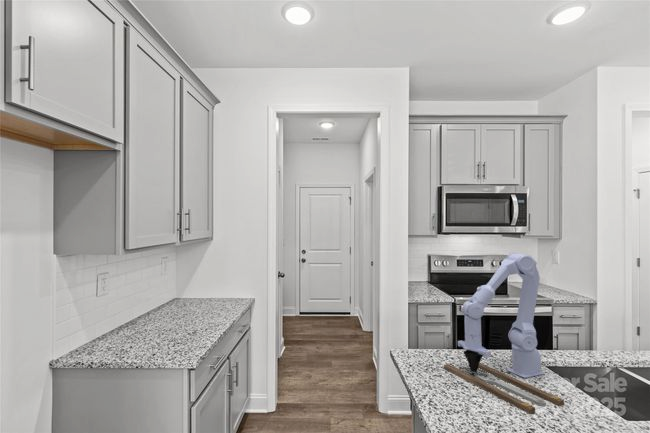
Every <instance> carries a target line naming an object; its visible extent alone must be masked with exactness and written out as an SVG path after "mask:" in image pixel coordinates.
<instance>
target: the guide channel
mask: <svg viewBox="0 0 650 433" xmlns="http://www.w3.org/2000/svg"><path fill="white" fill-rule="evenodd" d="M478 368H480V369H482V370H484V371H483V372H485V371H486V372H485V373H487V372H488V373H490V374H492V375H494V376H496V378H497V377H498V378H497V379H499V380H502V381H504V382H506V381H507V382H506V383H508V382H509V384H510V383H511V385H512V386H515V387H516V388H518V389H520V390H521V389H522V391H524V392H527V393H529V394H531V395H533V396H535V397H538V398H540V399H542V400H544V401H547V402H550V403H552V404H554V405H556V406H558V407H562V406H564V405H565V400H564V399H562V398H561V397H560V396H558V395H554V394H552V393H549V392H547V391H545V390H542V389H540V388H537V387H535V386H533V385H531V384H528V383H526V382H524V381H522V380H520V379H518V378H515V377H513V376H510V375H509V374H506V373H504V372H502V371H499V370H497V369H496V368H492V367H490V366H488V365H486V364H483V363H481V362H480V363H479V366H478ZM443 369H444V370H446V371H447V372H450V373H452V374H454V375H455V376H458V377H459V378H460V379H463V380H464V381H466V382H468V381H469V383H470V382H471V384H472V383H473V384H472V385H474V384H475V385H474V386H476V385H477V386H476V387H478V386H479V388H480V387H481V388H480V389H482V388H483V389H482V390H484V391H486V392H487V391H488V393H489V392H490V394H491V393H492V394H491V395H493V394H494V395H493V396H495V397H497V398H499V399H501V400H503V401H504V402H507V403H508V402H509V403H508V404H510V403H511V405H512V404H513V406H514V407H516V408H518V409H520V410H522V411H524V412H526V413H527V414H530V415H532V414H535V413H536V407H535V406H533V405H532V404H530V403H528V402H525V401H524V400H521V399H519V398H518V397H515V396H513V395H511V394H509V393H507V392H505V391H503V390H501V389H500V388H497V387H496V386H494V385H492V384H487V383H485V382H483V381H481V380H479V379H477V377H475V376H473V375H471V374H469V373H467V372H466V371H463V370H461V369H459V368H458V367H455V366H453V365H451V364H449V363H446V364H443ZM480 369H479V370H480ZM482 370H481V371H482Z"/></svg>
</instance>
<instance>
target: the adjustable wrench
mask: <svg viewBox="0 0 650 433" xmlns="http://www.w3.org/2000/svg"><path fill="white" fill-rule="evenodd" d="M483 376H484V377H483ZM476 378H477V379H479V380H481V381H483V382H485V383H489V385H492V384H494V385H493V386H495V385H496V386H495V387H498V388H500V387H501V388H500V389H502V388H503V389H502V390H504V389H505V390H504V391H506V390H507V391H506V392H509V393H511V394H513V395H515V396H517V395H518V397H519V396H520V398H521V397H522V399H523V400H526V401H528V402H530V403H532V404H534V405H537V406H539V407H546V406H547V403H546V401H547V400H545V399H543V398H541V397H538V396H536V395H534V394H532V393H530V392H527V391H525V390H523V389H522V390H521V389H520V388H518V387H516V386H515V387H514V385H510V384H507V382H503V381H501V379H499V378H497V377H495V376H494V375H492V374H489V373H487V372H485V371H483V372H480V375H478V374H477V375H476Z"/></svg>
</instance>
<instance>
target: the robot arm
mask: <svg viewBox="0 0 650 433" xmlns="http://www.w3.org/2000/svg"><path fill="white" fill-rule="evenodd" d="M537 264H538V262H537V260H535V259H534V258H533V256H532V255H530V254H526V253H525V254H522V253H517V252H512V253H509V254H507V256H506V257H505V258H504V259H503V260H502V261H501V265H500V266H499V267H498V268H497V270H496V271H495V273H494V274H493V275H492V277H491V278H490V280H489V281H488V282H487V283H486V284H483V285H480V286H478V287H477V288H476V292H474V294H473V295H472V296H470V297H468V298H469V299H468V300H466V301H465V302H464V303H463V304H462V307H461V312H462V314H463V315H464V340H457V346H458V347H460V348H461V347H462V348H463V354H464V357H465V358H466V360H467V363H468V366H469V369H470V370H469V371H471V372H472V373H477V372H478V370H479V369H478V366H479V363H481V360H482V359H483V357H484V358H491V355H492V354H491V351H490V350H488V349H486V347H484V346H482V344H483V343H482V317H483V316H484V313H485V308H486V307H487V306H488V304H490V302H492V300H493V298H495V296H496V290H497V289H498V288H499V287H500V285H501V284H503V282H504V281H505V280H507V278H508V277H509V276H511V275H518V276H519V277H520V278H521V279H522V282H521V289H520V296H519V300H518V301H519V303H518V309H517V314H516V320H515V321H514V322H513V323H512V325H511V328H510V330H509V331H508V335H507V336H508V339H509V341H510V343H511V359H512V360H511V361H512V362H511V363H512V368H507V369H506V371H508V372H509V373H512V374H515V375H517V376H519V377H522V378H523V379H527V378H532V377H536V376H541V375H544V372H543V371H542V361H541V360H542V358H541V357H542V356H541V353H540V351H539V350H538V349H537V346H538V339H537V331H536V328H535V327H534V319H535V318H534V317H535V311H536V304H537V297H538V293H539V286H540V280H541V279H540V278H541V276H540V274H539V270H538V267H537Z"/></svg>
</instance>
